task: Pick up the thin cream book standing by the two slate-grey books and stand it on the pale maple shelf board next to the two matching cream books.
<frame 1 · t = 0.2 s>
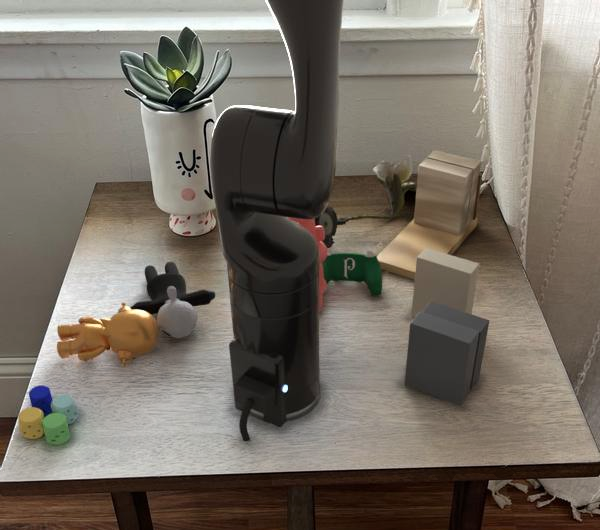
figurine 4: (134, 321, 100), point 3 cm above the table
artificial flower: (369, 218, 122), on the table
figurine 3: (57, 339, 98), point 3 cm above the table
multicoloured cylinder cluster: (73, 402, 92), point 1 cm above the table
book shelf: (426, 245, 116), on the table
figurine 2: (172, 313, 106), on the table
grey books: (442, 381, 95), on the table
decorative finial: (262, 292, 109), on the table
cream book: (440, 320, 104), on the table
figurine: (307, 308, 106), on the table
gaming controller: (347, 285, 110), on the table
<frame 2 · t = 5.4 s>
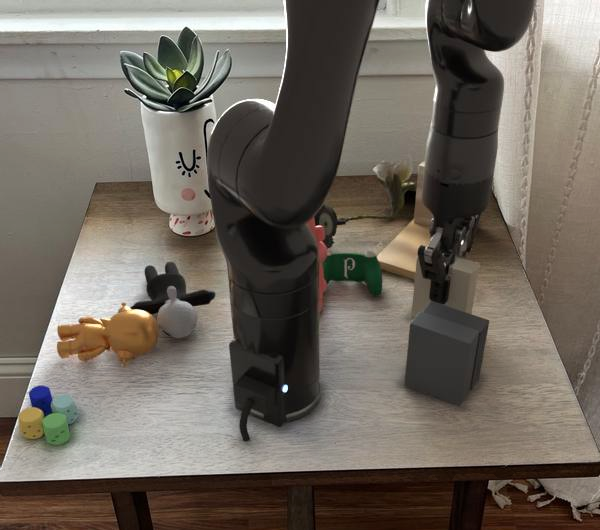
hand: (443, 294, 101), 4 cm above the table, tool pointing down, fingers closed on cream book, 2 cm apart
cream book: (440, 320, 104), on the table, touching gripper
everything else where it was.
when the fingers open (5 cm above the table, at t = 12.4 s): cream book stays where it is, resting on book shelf.
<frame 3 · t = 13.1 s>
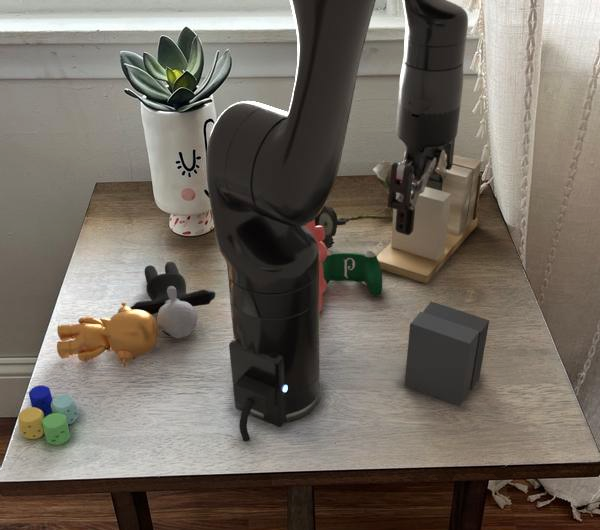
hand: (418, 218, 110), 6 cm above the table, tool pointing down, fingers open, 8 cm apart
cream book: (417, 249, 113), point 1 cm above the table, touching book shelf
everything else where it was.
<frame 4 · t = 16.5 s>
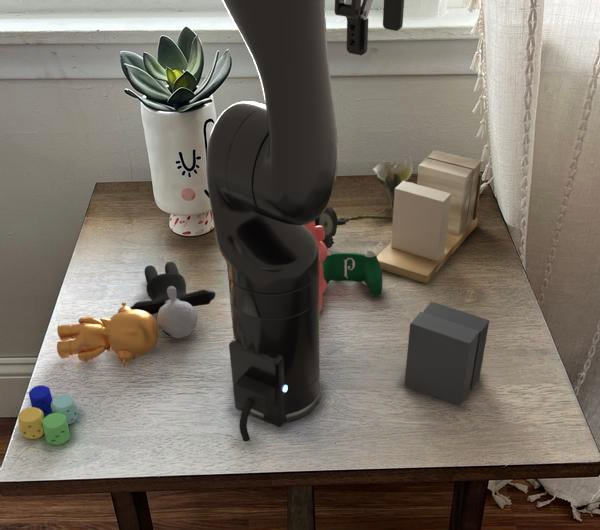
hand: (374, 40, 92), 30 cm above the table, tool pointing down, fingers open, 8 cm apart
nothing on the table moved.
at the end: cream book 0.1 cm from the target spot on the book shelf, point 1.2 cm above the book shelf's base; cream book tilted 0°; cream book touching book shelf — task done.
